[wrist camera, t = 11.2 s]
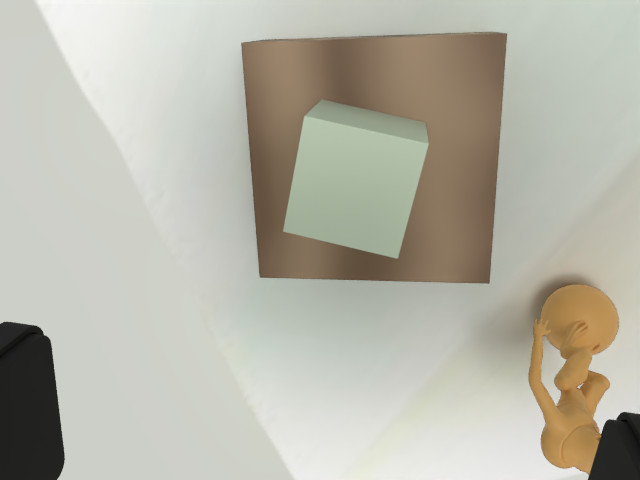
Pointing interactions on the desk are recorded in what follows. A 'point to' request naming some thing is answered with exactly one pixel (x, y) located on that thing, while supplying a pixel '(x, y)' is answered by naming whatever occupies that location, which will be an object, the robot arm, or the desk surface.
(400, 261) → the walnut block
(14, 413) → the robot arm
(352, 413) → the desk surface
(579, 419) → the figurine
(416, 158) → the sage cube
